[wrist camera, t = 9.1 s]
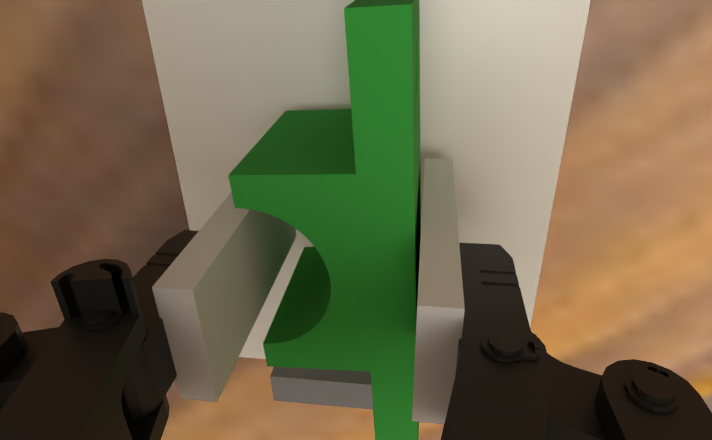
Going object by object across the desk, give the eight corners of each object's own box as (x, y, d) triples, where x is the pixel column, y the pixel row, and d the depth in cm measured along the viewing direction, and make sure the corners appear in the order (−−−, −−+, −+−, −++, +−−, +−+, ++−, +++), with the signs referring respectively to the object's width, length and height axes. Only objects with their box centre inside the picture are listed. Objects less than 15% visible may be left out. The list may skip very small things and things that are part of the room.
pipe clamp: (270, -7, 13) (194, 13, 9) (419, -17, 12) (413, 0, 8) (316, 336, 18) (282, 449, 14) (422, 341, 17) (418, 460, 13)
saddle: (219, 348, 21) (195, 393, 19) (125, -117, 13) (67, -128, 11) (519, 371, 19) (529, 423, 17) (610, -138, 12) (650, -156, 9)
